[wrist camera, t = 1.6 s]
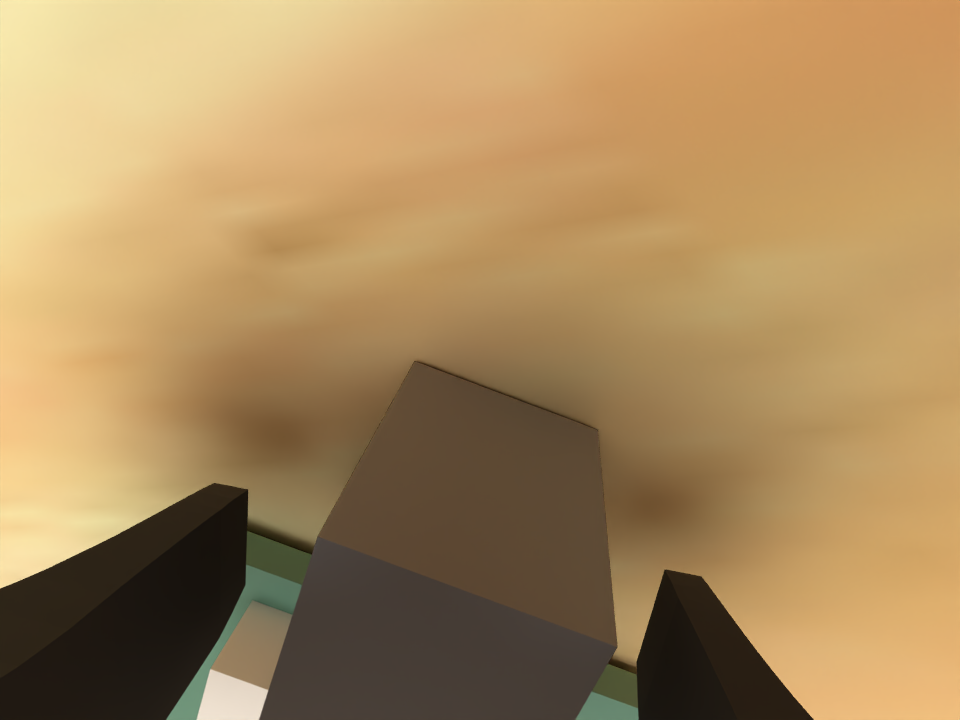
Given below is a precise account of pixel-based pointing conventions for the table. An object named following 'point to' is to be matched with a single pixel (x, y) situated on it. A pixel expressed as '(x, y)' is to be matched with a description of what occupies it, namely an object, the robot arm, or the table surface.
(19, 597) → the robot arm
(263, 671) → the frame
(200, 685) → the board
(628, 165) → the table surface
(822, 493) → the table surface
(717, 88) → the table surface
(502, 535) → the plug
